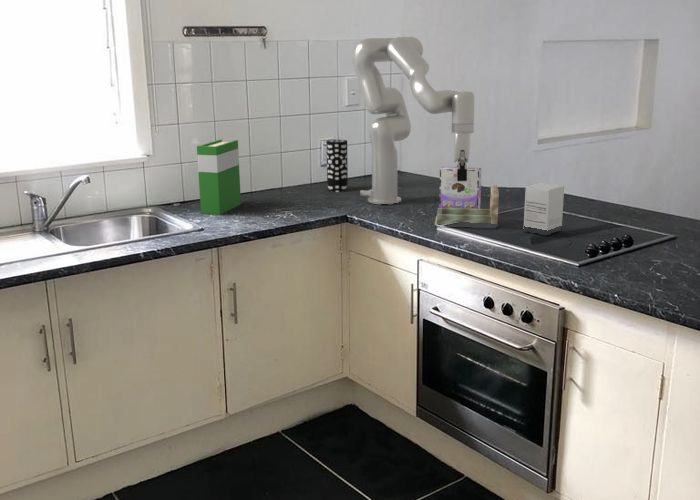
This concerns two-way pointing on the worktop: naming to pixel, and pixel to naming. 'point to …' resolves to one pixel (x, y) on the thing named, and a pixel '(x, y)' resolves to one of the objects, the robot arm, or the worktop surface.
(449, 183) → the candy box
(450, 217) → the khaki l-shaped bracket
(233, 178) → the hardback book
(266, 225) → the worktop surface
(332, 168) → the white-spotted black cylinder
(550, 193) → the supplement box
